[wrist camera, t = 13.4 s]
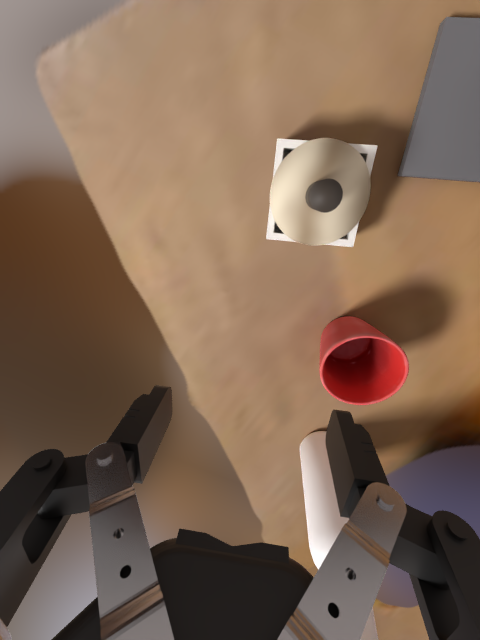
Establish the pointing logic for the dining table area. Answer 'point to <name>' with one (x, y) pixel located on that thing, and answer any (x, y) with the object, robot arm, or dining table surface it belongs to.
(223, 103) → the dining table surface
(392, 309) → the dining table surface
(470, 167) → the mat
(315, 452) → the alcohol
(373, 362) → the flower pot
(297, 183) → the lid
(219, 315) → the dining table surface
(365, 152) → the dish
